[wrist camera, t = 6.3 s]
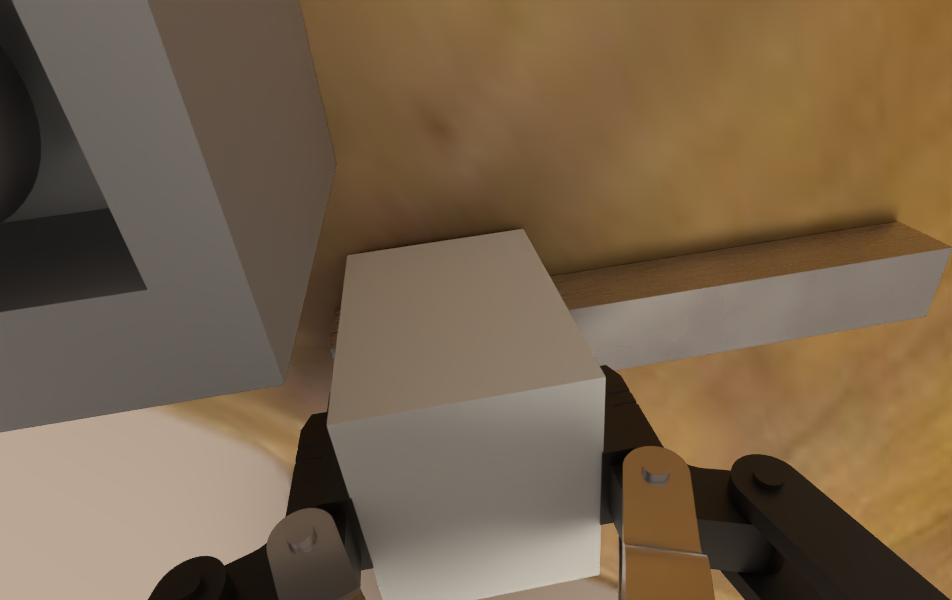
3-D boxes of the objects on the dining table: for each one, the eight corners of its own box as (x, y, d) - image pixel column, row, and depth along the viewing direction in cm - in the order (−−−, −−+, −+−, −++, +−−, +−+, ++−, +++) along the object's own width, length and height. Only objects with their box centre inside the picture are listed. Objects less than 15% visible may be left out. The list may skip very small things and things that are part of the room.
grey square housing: (254, -192, 11) (-73, -615, 3) (338, 171, 14) (288, 397, 7) (-77, -162, 10) (-1458, -570, 3) (98, 204, 14) (-248, 488, 6)
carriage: (523, 228, 16) (605, 376, 10) (532, 390, 19) (599, 574, 13) (347, 255, 15) (326, 425, 10) (386, 415, 18) (388, 617, 13)
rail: (898, 221, 18) (952, 247, 16) (877, 285, 19) (926, 316, 17) (335, 310, 16) (330, 349, 15) (352, 373, 18) (349, 416, 16)
